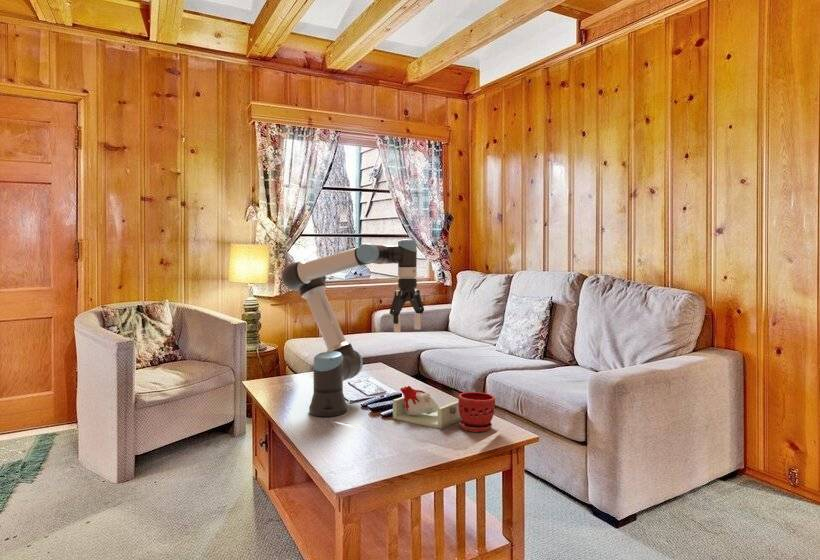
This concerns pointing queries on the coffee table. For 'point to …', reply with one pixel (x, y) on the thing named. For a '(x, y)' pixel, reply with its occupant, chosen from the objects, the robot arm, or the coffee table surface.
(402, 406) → the holder
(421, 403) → the candle
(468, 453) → the coffee table surface
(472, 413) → the plant pot
